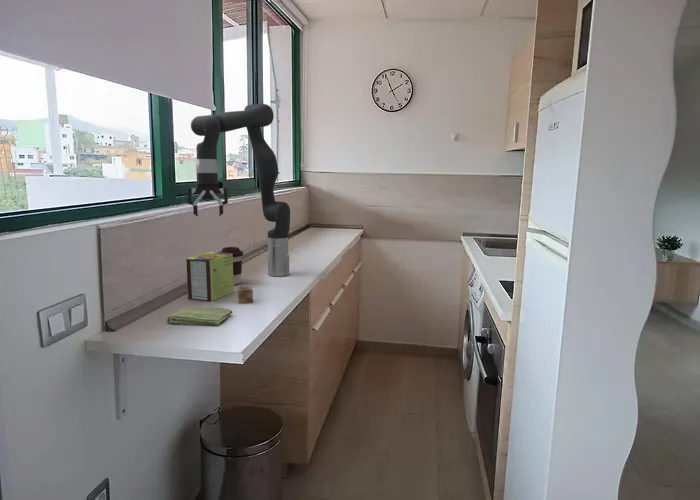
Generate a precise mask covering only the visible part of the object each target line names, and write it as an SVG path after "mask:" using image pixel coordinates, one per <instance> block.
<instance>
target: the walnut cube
mask: <svg viewBox="0 0 700 500" xmlns="http://www.w3.org/2000/svg"><path fill="white" fill-rule="evenodd" d="M253 291H254V290H253V287H252V286H238V287H237V302H238V304H239V305H240V304H253V303H254V300H253V299H254V298H253V297H254V296H253Z"/></svg>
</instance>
